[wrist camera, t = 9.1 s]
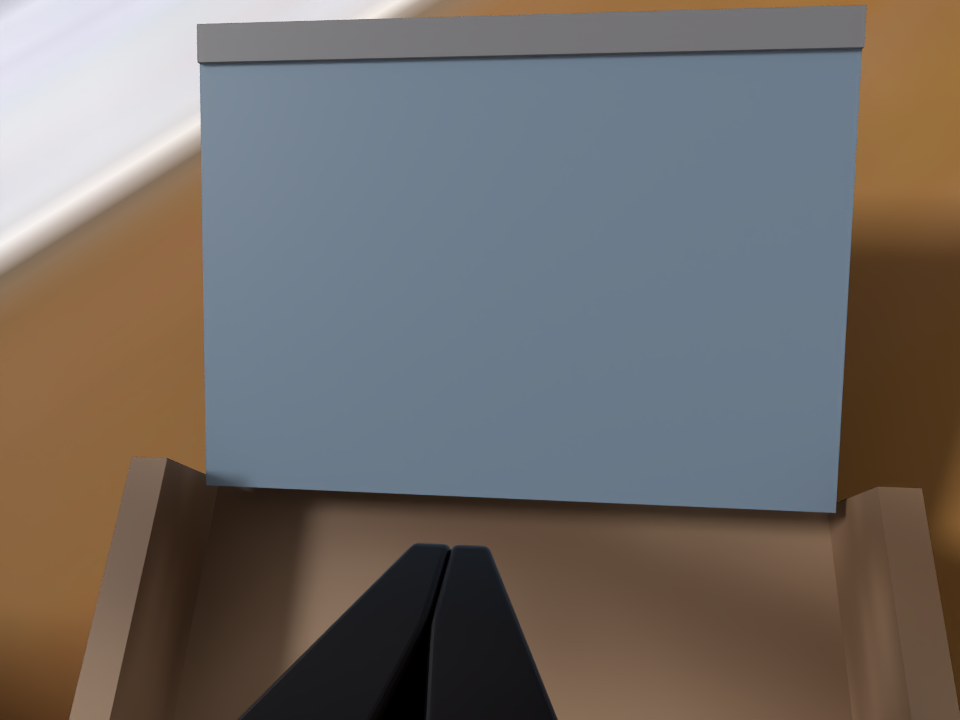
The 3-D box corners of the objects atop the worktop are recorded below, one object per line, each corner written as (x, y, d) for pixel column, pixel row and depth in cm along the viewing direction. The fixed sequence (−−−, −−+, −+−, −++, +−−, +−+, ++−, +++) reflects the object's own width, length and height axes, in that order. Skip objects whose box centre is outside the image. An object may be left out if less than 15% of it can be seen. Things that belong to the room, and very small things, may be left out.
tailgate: (837, 514, 14) (866, 4, 13) (203, 486, 16) (196, 23, 15) (811, 495, 16) (836, 33, 15) (232, 471, 17) (227, 48, 16)
